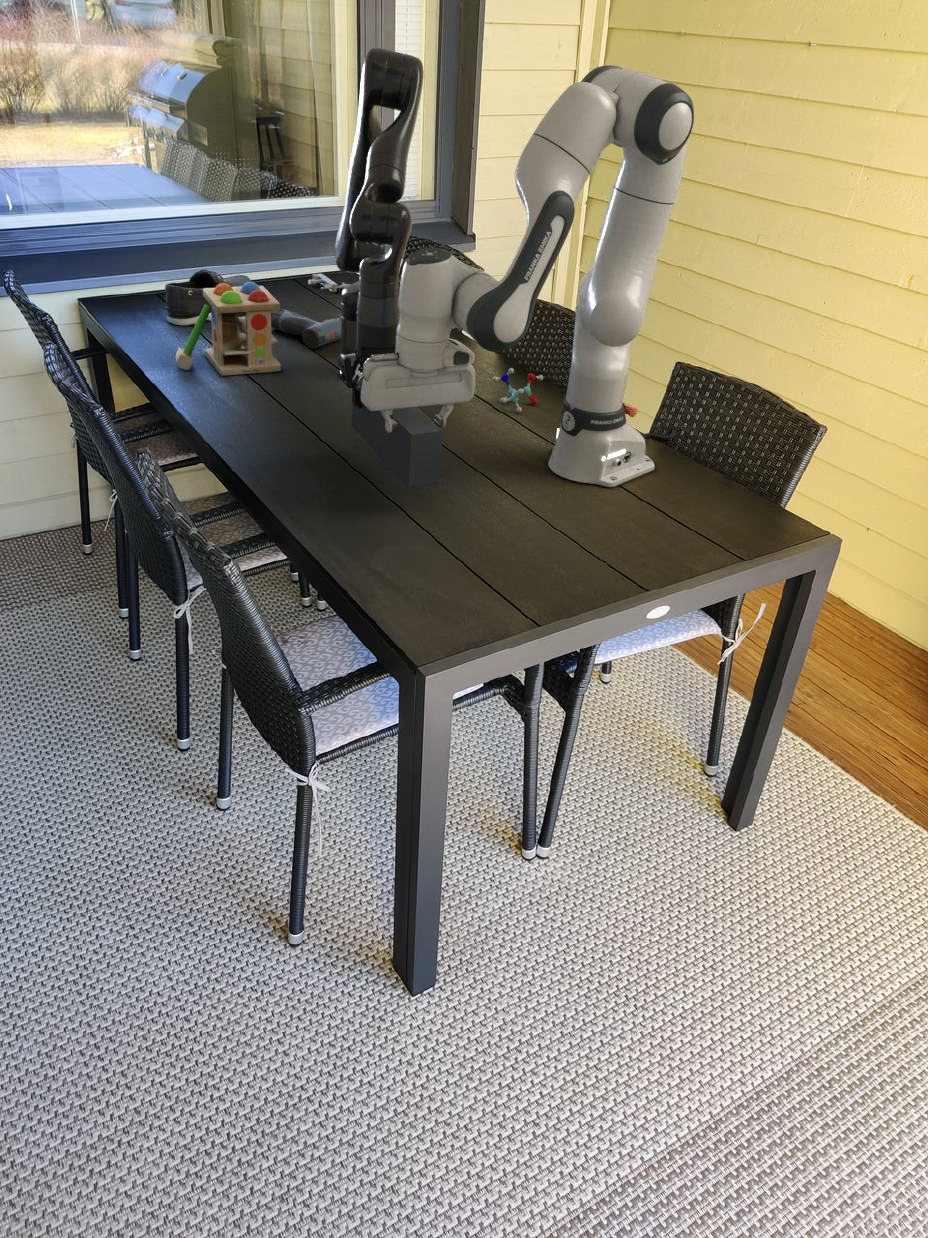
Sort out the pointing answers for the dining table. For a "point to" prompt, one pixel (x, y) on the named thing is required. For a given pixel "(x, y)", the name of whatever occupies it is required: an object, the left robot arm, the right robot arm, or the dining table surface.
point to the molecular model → (513, 392)
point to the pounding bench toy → (229, 347)
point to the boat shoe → (194, 295)
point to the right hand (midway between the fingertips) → (415, 428)
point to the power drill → (307, 327)
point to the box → (403, 442)
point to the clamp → (326, 282)
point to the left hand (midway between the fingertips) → (374, 404)
